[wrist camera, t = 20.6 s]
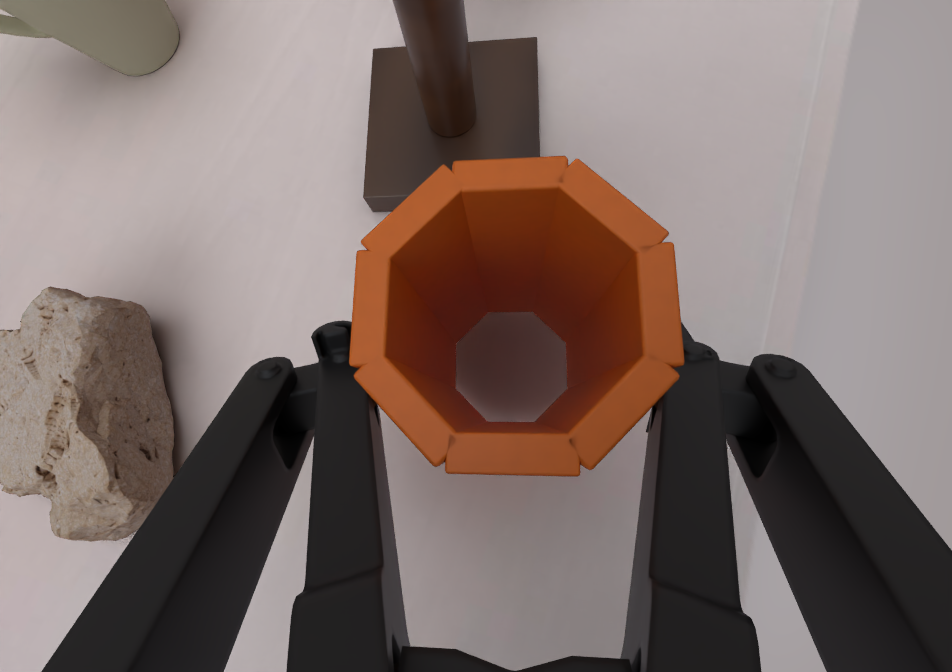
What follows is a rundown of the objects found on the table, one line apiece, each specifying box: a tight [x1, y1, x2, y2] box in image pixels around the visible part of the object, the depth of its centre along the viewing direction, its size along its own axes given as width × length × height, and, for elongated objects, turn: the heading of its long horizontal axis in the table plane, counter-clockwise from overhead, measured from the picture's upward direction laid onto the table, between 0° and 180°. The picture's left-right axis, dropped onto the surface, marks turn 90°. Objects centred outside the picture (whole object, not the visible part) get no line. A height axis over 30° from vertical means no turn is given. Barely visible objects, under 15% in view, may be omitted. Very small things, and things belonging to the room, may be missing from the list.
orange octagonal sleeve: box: [349, 156, 684, 477], centre depth 14 cm, size 7×7×11 cm
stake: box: [363, 0, 540, 212], centre depth 15 cm, size 9×9×15 cm
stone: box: [0, 287, 174, 541], centre depth 19 cm, size 9×11×5 cm
